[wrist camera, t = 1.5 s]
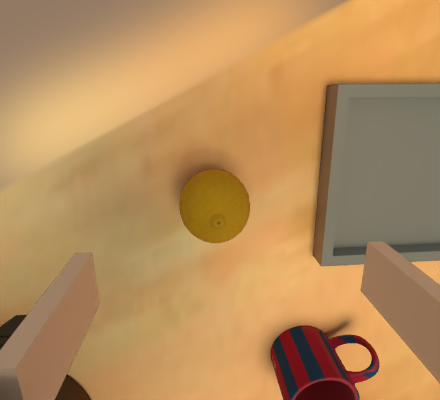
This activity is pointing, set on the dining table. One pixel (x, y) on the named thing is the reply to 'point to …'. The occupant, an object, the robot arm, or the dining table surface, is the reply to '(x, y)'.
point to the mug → (317, 365)
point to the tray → (379, 173)
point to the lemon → (214, 206)
